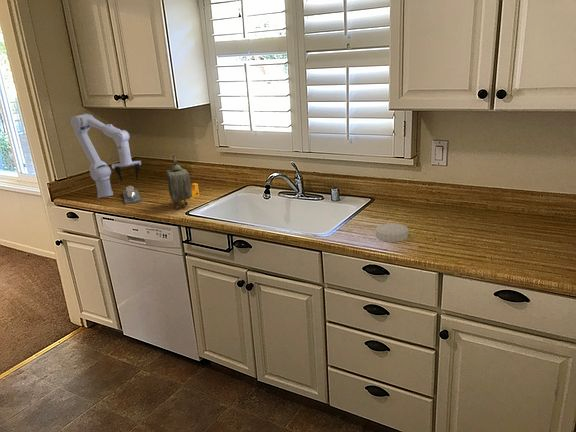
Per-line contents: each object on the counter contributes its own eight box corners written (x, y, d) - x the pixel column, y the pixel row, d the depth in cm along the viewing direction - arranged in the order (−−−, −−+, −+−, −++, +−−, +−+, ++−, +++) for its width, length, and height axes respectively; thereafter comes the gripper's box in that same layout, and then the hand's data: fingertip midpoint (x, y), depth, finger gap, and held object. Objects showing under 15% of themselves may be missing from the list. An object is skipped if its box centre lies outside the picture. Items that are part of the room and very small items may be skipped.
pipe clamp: (193, 194, 248) (192, 182, 246) (199, 195, 245) (197, 183, 243) (176, 201, 239) (174, 188, 237) (181, 202, 236) (180, 189, 234)
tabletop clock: (170, 203, 236) (163, 154, 228) (188, 200, 239) (181, 151, 231) (175, 211, 223) (167, 159, 215) (194, 207, 226) (187, 156, 218)
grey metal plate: (122, 193, 260) (121, 186, 258) (137, 190, 262) (136, 184, 261) (125, 204, 239) (123, 196, 238) (141, 201, 242) (140, 194, 240)
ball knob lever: (126, 192, 256) (125, 187, 255) (134, 191, 258) (133, 185, 257) (128, 199, 243) (127, 193, 242) (136, 198, 244) (135, 192, 243)
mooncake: (405, 243, 170) (405, 234, 169) (372, 240, 175) (372, 231, 174) (410, 231, 181) (410, 223, 179) (379, 229, 185) (379, 220, 184)
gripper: (110, 157, 238) (115, 183, 242) (139, 153, 242) (144, 179, 247) (109, 155, 244) (114, 180, 249) (138, 151, 249) (143, 176, 253)
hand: (129, 179), depth 248 cm, fingers open, 7 cm apart
